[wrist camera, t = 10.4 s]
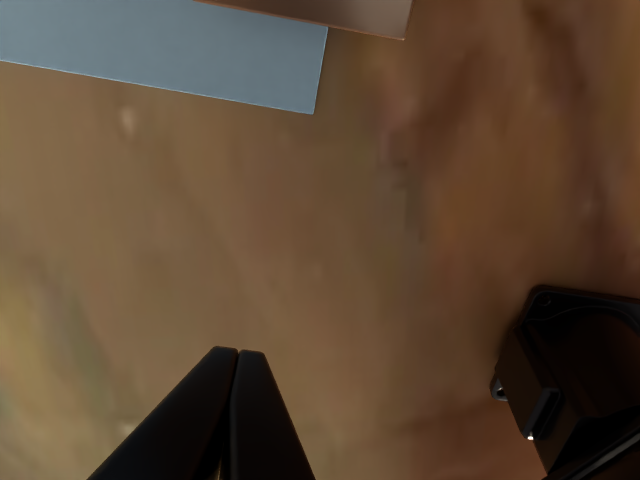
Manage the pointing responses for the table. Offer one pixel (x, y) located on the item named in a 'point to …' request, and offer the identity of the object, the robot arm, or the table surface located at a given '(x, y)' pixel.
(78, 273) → the table surface
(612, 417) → the robot arm
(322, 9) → the walnut block
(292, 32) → the placemat
